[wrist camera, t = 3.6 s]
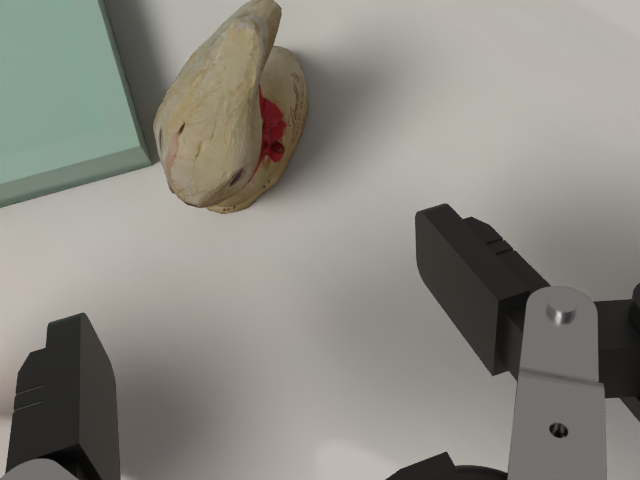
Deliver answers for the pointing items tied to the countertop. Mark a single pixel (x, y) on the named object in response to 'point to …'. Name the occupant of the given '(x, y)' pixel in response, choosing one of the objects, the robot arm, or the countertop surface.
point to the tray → (62, 99)
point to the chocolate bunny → (233, 113)
